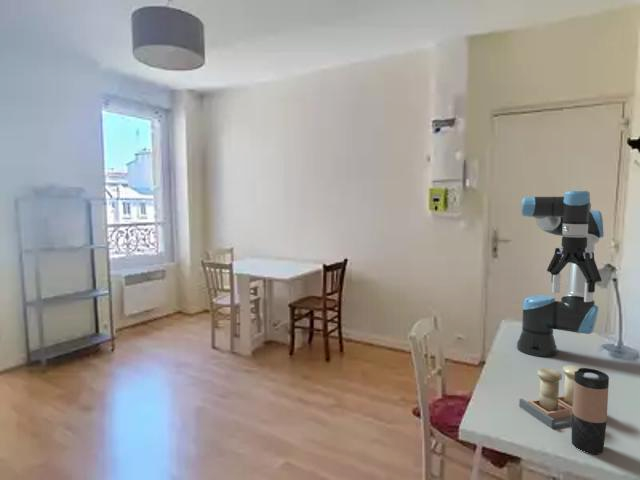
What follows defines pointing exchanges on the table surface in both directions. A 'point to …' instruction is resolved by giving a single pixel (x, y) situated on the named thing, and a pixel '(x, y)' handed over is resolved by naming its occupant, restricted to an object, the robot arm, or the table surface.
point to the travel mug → (589, 410)
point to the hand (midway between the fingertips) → (571, 296)
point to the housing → (564, 404)
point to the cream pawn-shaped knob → (549, 389)
